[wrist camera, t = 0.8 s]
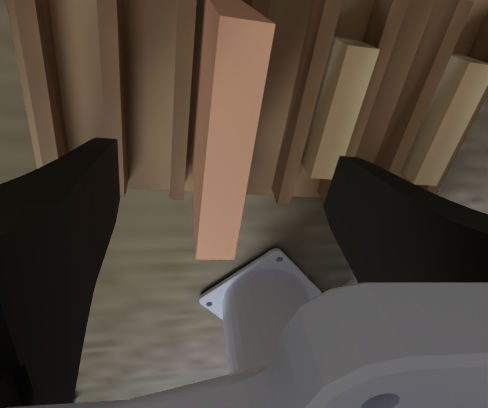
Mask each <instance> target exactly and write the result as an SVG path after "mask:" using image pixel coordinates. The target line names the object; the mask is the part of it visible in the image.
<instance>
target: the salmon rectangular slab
mask: <svg viewBox="0 0 488 408" xmlns="http://www.w3.org/2000/svg"><path fill="white" fill-rule="evenodd" d="M275 25H276V24H275V23H274V22H272V21H271V20H269V19H268V18H266V17H265V16H263V15H262V14H261V13H259V12H258V11H256V10H255V9H253V8H252V7H250V6H249V5H248V4H246V3H245V2H243V1H242V0H204V4H203V17H202V31H201V44H200V57H199V71H198V84H197V97H196V111H195V124H194V137H193V150H192V185H193V207H194V230H195V252H196V259H209V260H234V258H235V252H236V247H237V241H238V235H239V230H240V224H241V218H242V212H243V207H244V201H245V195H246V190H247V184H248V178H249V173H250V167H251V161H252V156H253V150H254V144H255V139H256V133H257V127H258V121H259V116H260V110H261V104H262V99H263V93H264V87H265V82H266V76H267V70H268V65H269V59H270V53H271V48H272V42H273V36H274V31H275Z"/></svg>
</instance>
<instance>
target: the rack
mask: <svg viewBox="0 0 488 408" xmlns="http://www.w3.org/2000/svg"><path fill="white" fill-rule="evenodd" d="M5 1H6V6H7V11H8V17H9V22H10V27H11V33H12V38H13V43H14V49H15V54H16V59H17V65H18V70H19V75H20V81H21V86H22V91H23V97H24V102H25V107H26V113H27V118H28V123H29V129H30V134H31V139H32V145H33V150H34V155H35V161H36V166H37V169H38V168H40V167H42V166H44V165H46V164H48V163H50V162H52V161H54V160H56V159H58V158H60V157H61V156H63V155H65V154H67V153H68V152H70V151H72V150H74V149H75V148H77V147H79V146H80V145H82V144H84V143H86V142H87V141H89V140H91V139H93V138H96V137H98V138H111V139H117V142H118V162H119V183H120V197H125V193H126V189H127V188H134V189H154V190H170V199H173V200H184V191H193V185H192V150H193V137H194V124H195V111H196V97H197V84H198V71H199V57H200V44H201V31H202V17H203V4H204V0H5ZM242 1H243V2H245V3H246V4H248V5H249V6H250V7H252V8H253V9H255V10H256V11H258V12H259V13H261V14H262V15H263V16H265V17H266V18H268V19H269V20H271V21H272V22H274V23H275V24H276V25H275V31H274V36H273V42H272V48H271V53H270V59H269V65H268V70H267V76H266V82H265V87H264V93H263V99H262V104H261V110H260V116H259V121H258V127H257V133H256V139H255V144H254V150H253V156H252V161H251V167H250V173H249V178H248V184H247V190H246V194H253V195H273V196H274V197H275V199H276V202H277V204H284V205H290V202H291V198H292V196H293V197H313V198H321V199H322V200H323V202H324V203H325V200H326V196H327V193H328V190H329V187H330V184H331V181H332V179H316V178H310V176H309V175H308V173H307V171H306V170H305V168H304V166H303V164H302V163H301V160H302V156H303V152H304V148H305V144H306V140H307V137H308V133H309V129H310V125H311V121H312V117H313V113H314V110H315V106H316V102H317V98H318V94H319V90H320V86H321V83H322V79H323V75H324V71H325V67H326V63H327V59H328V56H329V52H330V48H331V44H332V40H333V36H334V35H335V36H341V37H348V38H355V39H358V40H360V41H362V42H365V43H367V44H369V45H371V46H373V47H376V48H378V49H380V51H379V54H378V57H377V60H376V63H375V66H374V69H373V72H372V75H371V78H370V81H369V84H368V87H367V90H366V94H365V97H364V100H363V103H362V106H361V109H360V112H359V115H358V118H357V121H356V124H355V127H354V130H353V133H352V136H351V139H350V142H349V145H348V148H347V151H346V154H345V156H350V157H358V158H361V159H364V160H366V161H369V162H371V163H373V164H375V165H377V166H379V167H381V168H383V169H385V170H387V171H389V172H391V173H393V174H395V175H397V176H399V177H401V178H403V179H405V180H407V181H409V180H408V179H407V178H406V177H405V176H404V175H403V174H402V173H401V170H402V167H403V165H404V163H405V161H406V158H407V156H408V154H409V151H410V149H411V147H412V144H413V142H414V140H415V138H416V135H417V133H418V131H419V128H420V126H421V124H422V121H423V119H424V117H425V115H426V112H427V110H428V108H429V105H430V103H431V101H432V98H433V96H434V94H435V92H436V89H437V87H438V85H439V82H440V80H441V78H442V75H443V73H444V71H445V69H446V66H447V64H448V62H449V59H450V57H451V55H452V53H457V54H463V55H466V56H469V57H472V58H475V59H477V60H480V61H483V62H486V63H488V0H242ZM487 94H488V85H487V87H486V89H485V91H484V93H483V95H482V97H481V99H480V101H479V103H478V105H477V107H476V109H475V111H474V113H473V115H472V117H471V119H470V121H469V123H468V125H467V127H466V129H465V131H464V133H463V135H462V137H461V139H460V140H459V142H458V144H457V146H456V148H455V150H454V152H453V154H452V156H451V158H450V160H449V162H448V164H447V166H446V168H445V170H444V172H443V174H442V176H441V178H440V180H439V182H438V184H437V186H430V185H417V186H419V187H421V188H423V189H425V190H427V191H429V192H432V193H434V194H436V193H437V191H438V189H439V187H440V185H441V183H442V182H443V180H444V178H445V176H446V174H447V172H448V170H449V168H450V166H451V164H452V162H453V160H454V158H455V156H456V154H457V152H458V150H459V148H460V147H461V145H462V143H463V141H464V139H465V137H466V135H467V133H468V131H469V129H470V127H471V125H472V123H473V121H474V119H475V117H476V115H477V114H478V112H479V110H480V108H481V106H482V104H483V102H484V100H485V98H486V96H487ZM409 182H410V181H409Z"/></svg>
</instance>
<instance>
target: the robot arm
mask: <svg viewBox="0 0 488 408" xmlns="http://www.w3.org/2000/svg"><path fill="white" fill-rule="evenodd" d="M119 201H120V183H119V162H118V142H117V139H111V138H98V137H96V138H93V139H91V140H89V141H87V142H86V143H84V144H82V145H80V146H79V147H77V148H75V149H74V150H72V151H70V152H68V153H67V154H65V155H63V156H61V157H60V158H58V159H56V160H54V161H52V162H50V163H48V164H46V165H44V166H42V167H40V168H38V169H36V170H34V171H32V172H30V173H28V174H25V175H23V176H20V177H18V178H16V179H13V180H10V181H8V182H5V183H2V184H0V408H488V214H485V213H482V212H479V211H476V210H473V209H470V208H468V207H465V206H463V205H460V204H458V203H455V202H452V201H450V200H447V199H445V198H443V197H440V196H438V195H436V194H434V193H432V192H429V191H427V190H425V189H423V188H421V187H419V186H417V185H415V184H413V183H411V182H409V181H407V180H405V179H403V178H401V177H399V176H397V175H395V174H393V173H391V172H389V171H387V170H385V169H383V168H381V167H379V166H377V165H375V164H373V163H371V162H369V161H366V160H364V159H361V158H358V157H350V156H339V159H338V162H337V165H336V168H335V172H334V175H333V178H332V181H331V184H330V187H329V190H328V193H327V196H326V200H325V203H324V209H325V213H326V216H327V219H328V222H329V225H330V228H331V230H332V232H333V234H334V236H335V238H336V240H337V242H338V244H339V246H340V248H341V250H342V252H343V254H344V256H345V258H346V260H347V262H348V263H349V265H350V267H351V269H352V271H353V273H354V275H355V277H356V279H357V281H358V283H357V284H352V285H347V286H342V287H336V288H331V289H329V290H327V291H325V292H323V293H322V292H321V291H320V290H319V289H318V288H317V287H316V286H315V285H314V283H313V282H312V281H311V280H310V279H309V278H308V277H307V276H306V275H305V274H304V273H303V272H302V271H301V270H300V269H299V268H298V267H297V266H296V265H295V264H294V263H293V262H292V261H291V260H290V259H289V258H288V257H287V256H286V255H285V254H284V253H283V252H282V251H281V250H280V249H279V248H274V249H271V250H270V251H268V252H267V253H265V254H264V255H262V256H261V257H259V258H258V259H256V260H254V261H253V262H251V263H250V264H248V265H247V266H245V267H244V268H242V269H240V270H239V271H237V272H236V273H234V274H233V275H231V276H230V277H228V278H226V279H225V280H223V281H222V282H220V283H219V284H217V285H216V286H214V287H213V288H211V289H209V290H208V291H206V292H205V293H203V294H202V295H200V296H199V303H200V304H202V305H203V306H204V307H206V308H207V309H208V310H210V311H211V312H213V313H214V314H215V315H217V316H218V317H219V318H221V319H222V320H223V323H224V332H225V340H226V349H227V358H228V367H229V375H225V376H221V377H217V378H213V379H209V380H205V381H201V382H197V383H193V384H189V385H185V386H181V387H177V388H173V389H169V390H165V391H161V392H157V393H153V394H149V395H145V396H141V397H137V398H133V399H130V400H116V401H100V402H84V403H73V400H74V394H75V388H76V382H77V376H78V370H79V365H80V359H81V353H82V348H83V342H84V337H85V332H86V327H87V321H88V316H89V311H90V307H91V302H92V297H93V292H94V288H95V284H96V281H97V277H98V274H99V271H100V268H101V265H102V262H103V259H104V256H105V253H106V250H107V247H108V244H109V241H110V238H111V235H112V232H113V229H114V226H115V223H116V218H117V213H118V207H119ZM278 257H281V258H279V259H277V258H278Z"/></svg>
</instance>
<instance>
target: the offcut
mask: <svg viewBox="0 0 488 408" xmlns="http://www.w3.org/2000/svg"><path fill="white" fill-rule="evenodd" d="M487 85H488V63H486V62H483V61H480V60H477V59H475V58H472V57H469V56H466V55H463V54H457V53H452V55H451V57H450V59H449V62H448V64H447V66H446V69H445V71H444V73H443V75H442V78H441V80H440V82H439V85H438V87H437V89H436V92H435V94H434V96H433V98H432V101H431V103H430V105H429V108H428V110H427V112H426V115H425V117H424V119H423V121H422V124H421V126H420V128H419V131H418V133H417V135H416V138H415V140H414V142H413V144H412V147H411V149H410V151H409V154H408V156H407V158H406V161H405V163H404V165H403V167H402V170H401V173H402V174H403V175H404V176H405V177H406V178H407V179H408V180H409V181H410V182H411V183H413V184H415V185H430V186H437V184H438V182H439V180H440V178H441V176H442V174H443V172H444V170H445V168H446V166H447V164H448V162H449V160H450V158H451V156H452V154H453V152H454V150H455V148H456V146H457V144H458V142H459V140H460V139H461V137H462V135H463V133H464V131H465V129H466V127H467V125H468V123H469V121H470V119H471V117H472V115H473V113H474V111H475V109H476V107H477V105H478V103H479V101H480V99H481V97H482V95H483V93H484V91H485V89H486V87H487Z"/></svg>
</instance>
